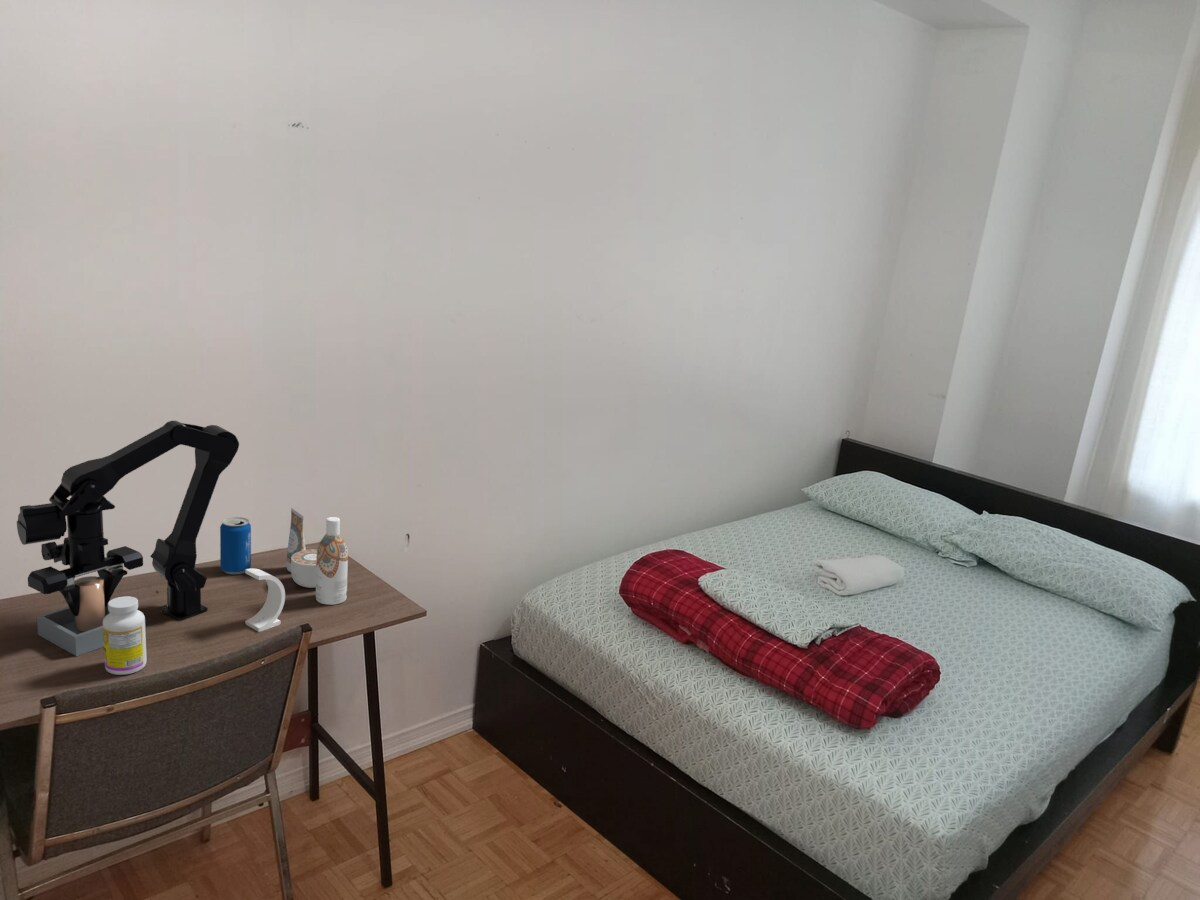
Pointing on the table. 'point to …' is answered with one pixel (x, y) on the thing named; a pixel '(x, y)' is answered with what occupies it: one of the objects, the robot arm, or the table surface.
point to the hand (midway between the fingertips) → (89, 610)
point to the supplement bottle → (124, 637)
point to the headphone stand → (267, 602)
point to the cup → (90, 603)
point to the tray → (69, 632)
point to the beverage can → (235, 545)
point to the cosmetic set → (319, 561)
